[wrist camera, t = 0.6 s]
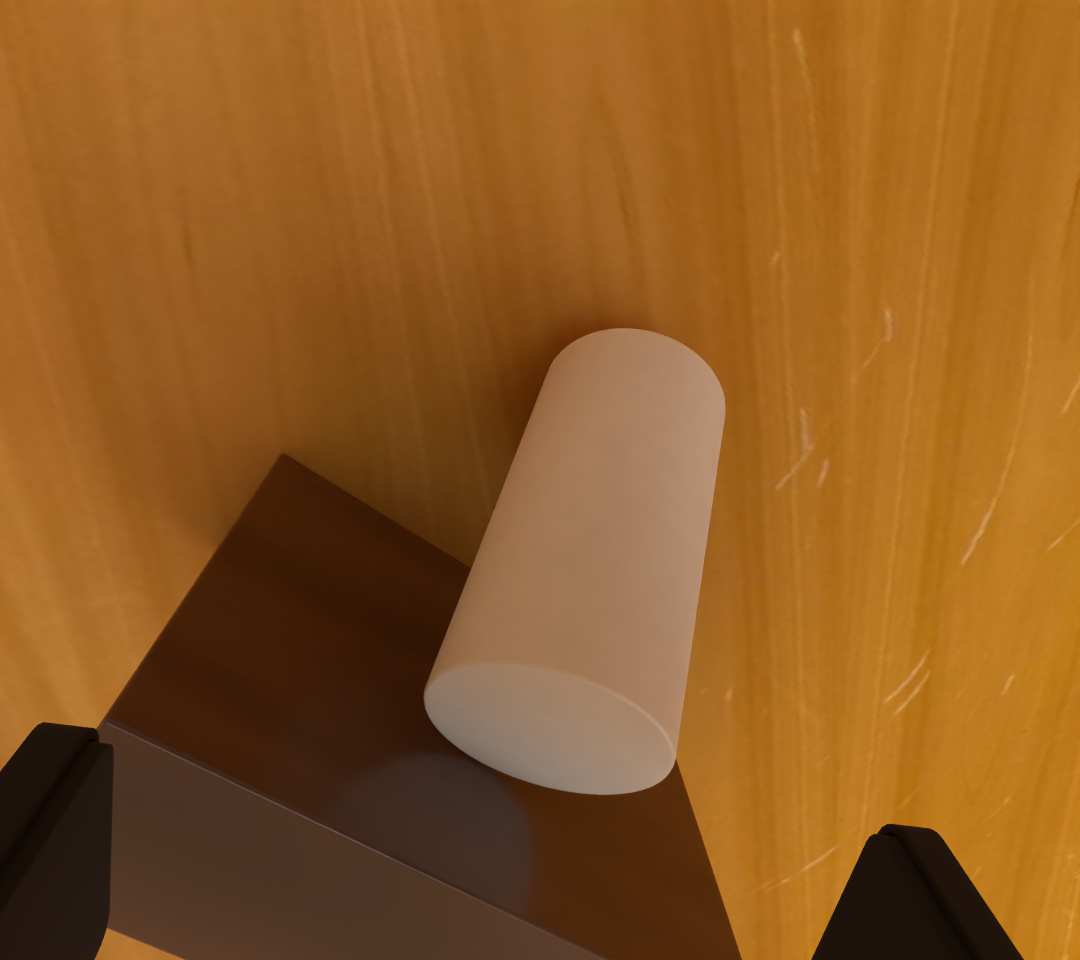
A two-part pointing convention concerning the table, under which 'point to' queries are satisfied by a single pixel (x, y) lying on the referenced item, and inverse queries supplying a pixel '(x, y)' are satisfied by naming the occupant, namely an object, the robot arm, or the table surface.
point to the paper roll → (589, 573)
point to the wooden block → (363, 776)
